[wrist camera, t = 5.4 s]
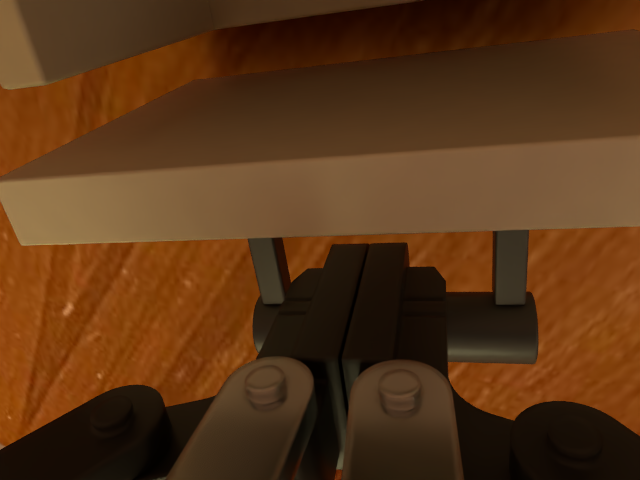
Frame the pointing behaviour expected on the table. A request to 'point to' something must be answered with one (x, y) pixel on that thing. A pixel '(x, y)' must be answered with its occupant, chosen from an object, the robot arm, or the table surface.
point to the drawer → (334, 149)
